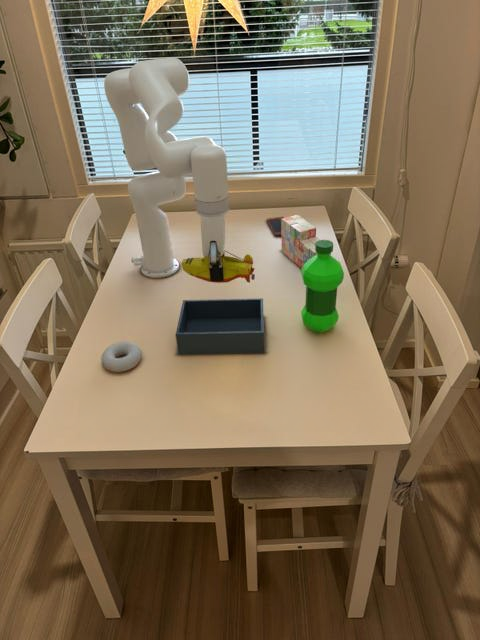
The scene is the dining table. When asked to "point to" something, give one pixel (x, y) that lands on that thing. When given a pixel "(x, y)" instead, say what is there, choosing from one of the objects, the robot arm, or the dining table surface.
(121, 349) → the donut
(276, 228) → the smartphone
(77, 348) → the dining table surface
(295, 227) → the stack of blocks
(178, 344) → the tote
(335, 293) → the plastic bottle
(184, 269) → the yellow toy submarine
